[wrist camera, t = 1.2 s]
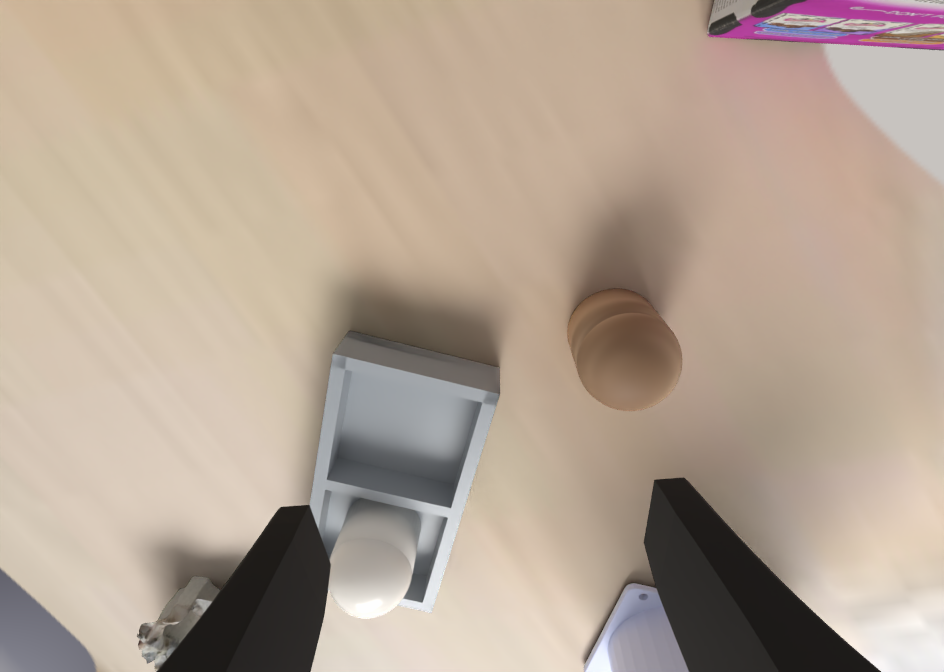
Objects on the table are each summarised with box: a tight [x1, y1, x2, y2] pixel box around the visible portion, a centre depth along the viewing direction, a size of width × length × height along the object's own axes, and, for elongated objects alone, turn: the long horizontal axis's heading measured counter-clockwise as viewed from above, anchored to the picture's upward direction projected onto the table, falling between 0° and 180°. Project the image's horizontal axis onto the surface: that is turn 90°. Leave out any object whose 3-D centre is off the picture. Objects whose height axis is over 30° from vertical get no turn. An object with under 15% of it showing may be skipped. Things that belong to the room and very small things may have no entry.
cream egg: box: [328, 498, 421, 618], centre depth 25 cm, size 4×4×5 cm
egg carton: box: [137, 576, 221, 672], centre depth 31 cm, size 11×8×4 cm
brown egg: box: [567, 289, 682, 411], centre depth 21 cm, size 4×4×5 cm
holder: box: [310, 331, 500, 613], centre depth 25 cm, size 7×14×2 cm, turn 166°
